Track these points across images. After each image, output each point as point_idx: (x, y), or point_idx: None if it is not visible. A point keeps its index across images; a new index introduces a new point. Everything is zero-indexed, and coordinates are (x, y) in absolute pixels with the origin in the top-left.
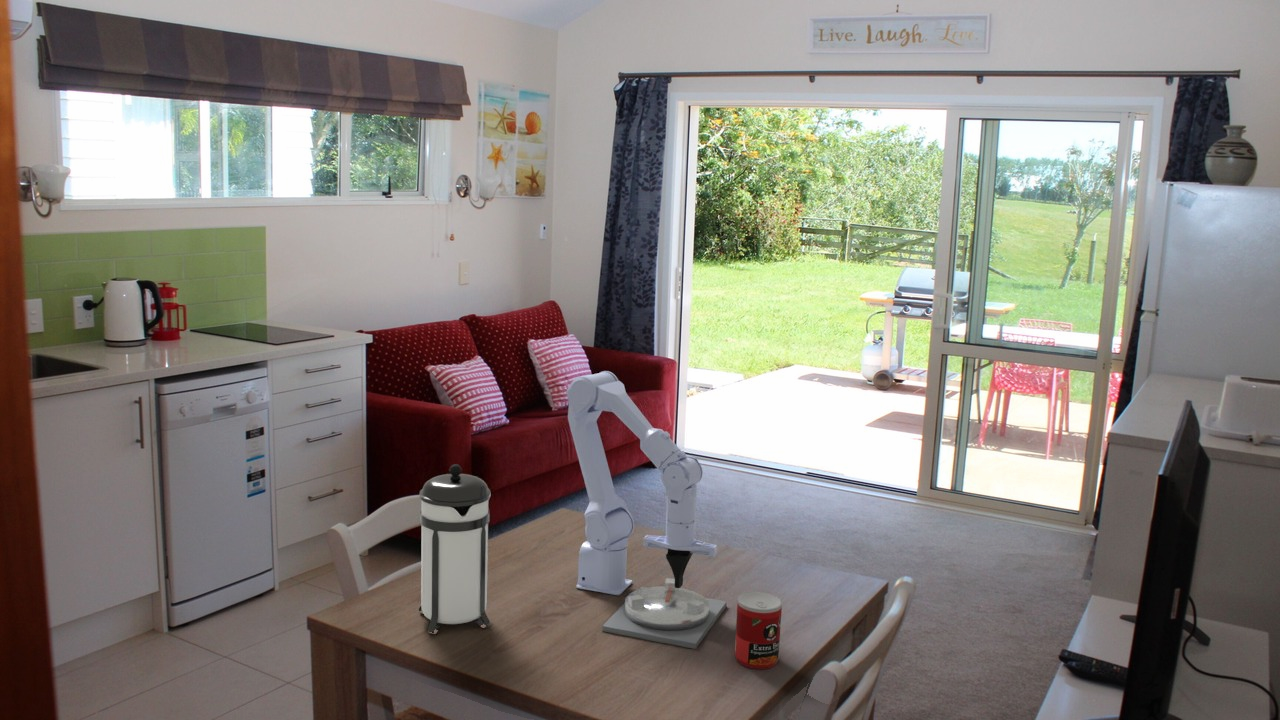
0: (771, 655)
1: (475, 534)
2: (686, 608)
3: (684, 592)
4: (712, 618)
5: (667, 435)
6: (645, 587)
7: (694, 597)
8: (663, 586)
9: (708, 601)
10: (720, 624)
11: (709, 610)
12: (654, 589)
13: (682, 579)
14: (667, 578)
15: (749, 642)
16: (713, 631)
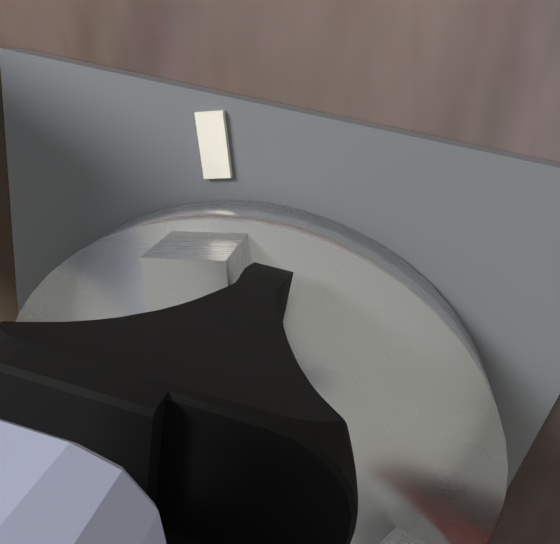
0: None
1: None
2: (356, 529)
3: (323, 312)
4: (514, 458)
5: None
6: (32, 58)
7: (402, 386)
8: (153, 229)
9: (510, 217)
10: (556, 439)
11: (504, 361)
12: (111, 293)
13: (282, 298)
14: (150, 261)
15: None
16: (505, 508)
